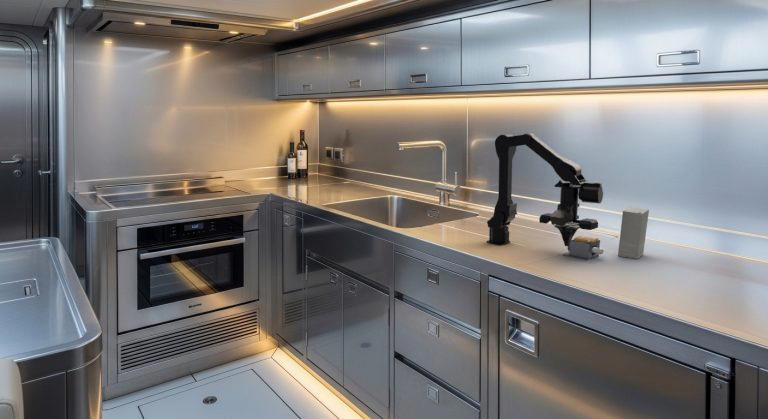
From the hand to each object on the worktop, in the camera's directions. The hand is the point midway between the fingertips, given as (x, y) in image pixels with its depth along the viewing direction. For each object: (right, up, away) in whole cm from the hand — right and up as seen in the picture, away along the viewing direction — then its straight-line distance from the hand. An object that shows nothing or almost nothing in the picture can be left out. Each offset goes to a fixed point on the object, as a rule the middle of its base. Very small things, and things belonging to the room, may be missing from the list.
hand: (566, 245), depth 183 cm
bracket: (+4, -3, -3) cm, 6 cm away
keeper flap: (+5, +2, -5) cm, 7 cm away
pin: (+5, -2, -5) cm, 7 cm away
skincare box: (+20, -3, -4) cm, 21 cm away
